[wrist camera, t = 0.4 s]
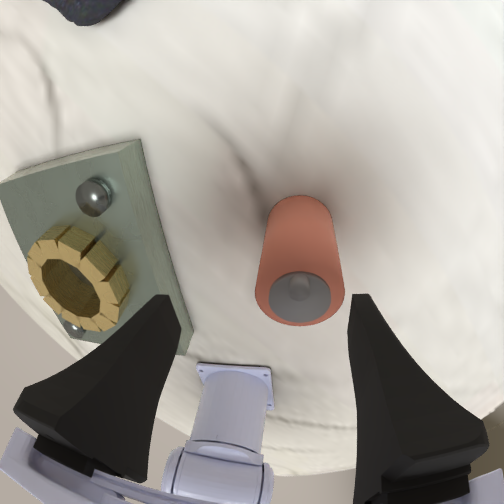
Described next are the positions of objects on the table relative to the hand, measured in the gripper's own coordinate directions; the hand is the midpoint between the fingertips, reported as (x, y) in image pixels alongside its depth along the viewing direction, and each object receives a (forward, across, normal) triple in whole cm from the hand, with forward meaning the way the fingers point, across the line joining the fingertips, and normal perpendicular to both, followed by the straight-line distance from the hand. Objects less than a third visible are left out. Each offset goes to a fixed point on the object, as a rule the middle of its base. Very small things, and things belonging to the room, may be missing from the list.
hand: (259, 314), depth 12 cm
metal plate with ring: (+10, +16, +3) cm, 19 cm away
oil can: (+10, -2, +2) cm, 10 cm away
